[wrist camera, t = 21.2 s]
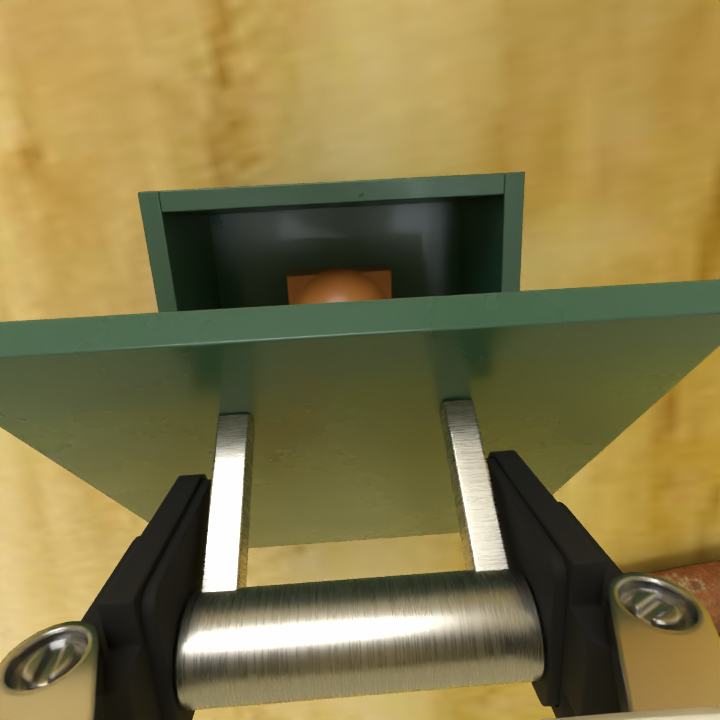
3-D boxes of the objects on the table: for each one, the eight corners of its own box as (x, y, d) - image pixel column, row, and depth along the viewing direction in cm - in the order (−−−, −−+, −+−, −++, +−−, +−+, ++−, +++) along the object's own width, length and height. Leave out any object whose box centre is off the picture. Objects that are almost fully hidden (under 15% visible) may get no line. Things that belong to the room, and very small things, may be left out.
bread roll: (291, 266, 26) (280, 277, 21) (385, 261, 26) (396, 270, 21) (304, 407, 28) (297, 447, 23) (390, 401, 29) (401, 440, 24)
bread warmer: (195, 200, 26) (136, 192, 18) (471, 185, 26) (525, 171, 19) (232, 458, 30) (197, 537, 23) (467, 442, 31) (509, 514, 23)
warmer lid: (-81, 325, 8) (-320, 769, 5) (738, 276, 9) (994, 657, 6) (196, 534, 22) (178, 691, 19) (511, 511, 23) (546, 661, 20)
